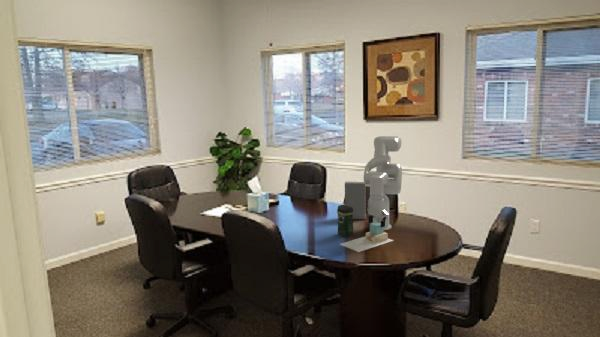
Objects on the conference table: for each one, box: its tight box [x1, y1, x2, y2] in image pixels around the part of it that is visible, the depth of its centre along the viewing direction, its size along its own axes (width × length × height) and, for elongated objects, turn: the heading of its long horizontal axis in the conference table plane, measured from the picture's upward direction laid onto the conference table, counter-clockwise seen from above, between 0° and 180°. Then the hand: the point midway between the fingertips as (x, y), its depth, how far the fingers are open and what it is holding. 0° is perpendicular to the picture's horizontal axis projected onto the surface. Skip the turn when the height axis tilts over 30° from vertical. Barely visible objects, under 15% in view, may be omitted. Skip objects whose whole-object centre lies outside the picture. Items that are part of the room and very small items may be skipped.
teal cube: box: [369, 222, 384, 235], centre depth 263 cm, size 6×6×6 cm
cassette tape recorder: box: [344, 181, 367, 220], centre depth 307 cm, size 14×6×25 cm, turn 80°
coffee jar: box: [336, 204, 354, 238], centre depth 273 cm, size 10×8×19 cm
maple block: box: [365, 231, 389, 243], centre depth 264 cm, size 9×9×4 cm
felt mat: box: [339, 235, 395, 253], centre depth 260 cm, size 16×28×1 cm, turn 127°
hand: (376, 224), depth 264 cm, fingers open, 9 cm apart
